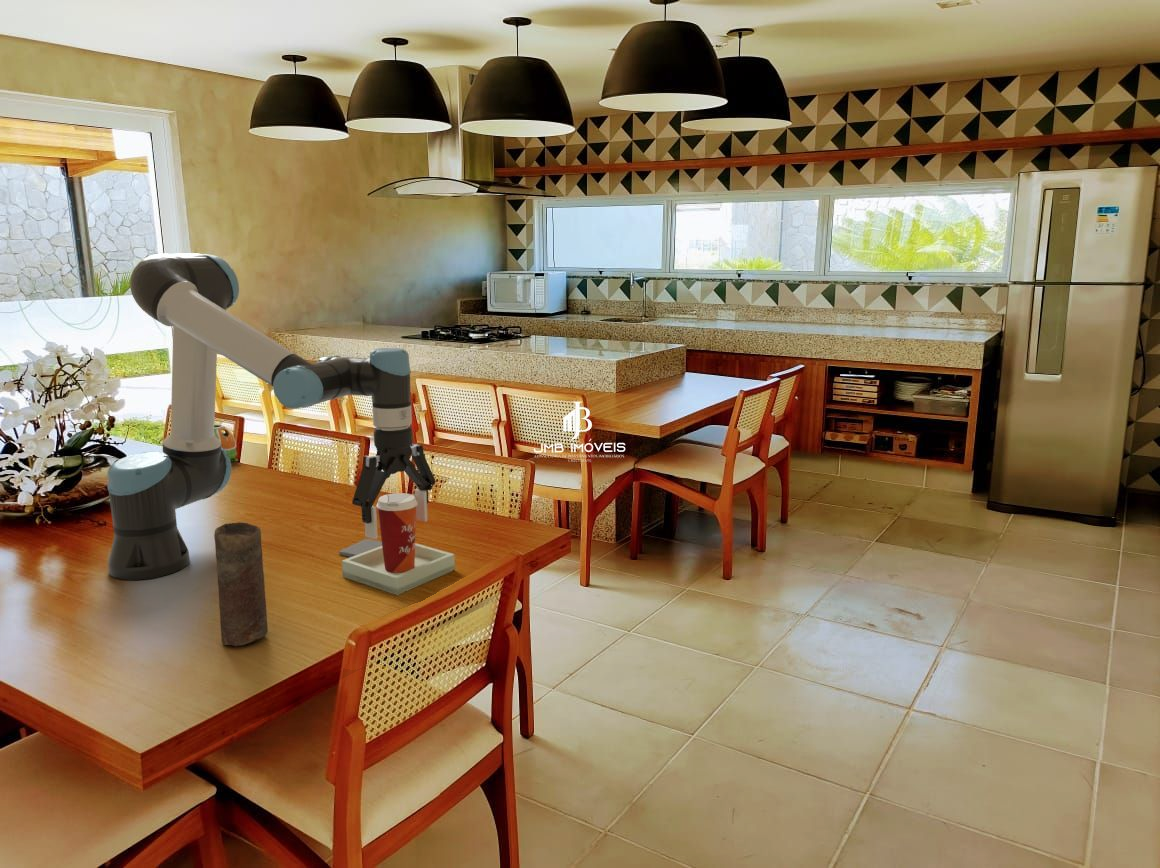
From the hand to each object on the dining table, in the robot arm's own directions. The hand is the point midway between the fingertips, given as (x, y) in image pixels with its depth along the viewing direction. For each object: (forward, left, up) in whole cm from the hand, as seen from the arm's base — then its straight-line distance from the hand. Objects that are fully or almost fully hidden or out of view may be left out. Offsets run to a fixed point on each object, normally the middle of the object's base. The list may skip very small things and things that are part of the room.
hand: (397, 528), depth 169 cm
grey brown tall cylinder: (-36, -1, -10) cm, 37 cm away
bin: (0, 0, -10) cm, 10 cm away
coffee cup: (0, 0, -9) cm, 9 cm away
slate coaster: (+5, +15, -10) cm, 19 cm away
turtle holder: (+29, +116, -10) cm, 120 cm away
